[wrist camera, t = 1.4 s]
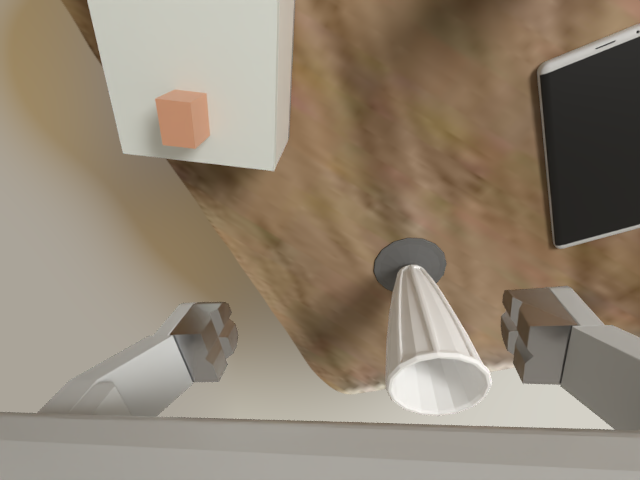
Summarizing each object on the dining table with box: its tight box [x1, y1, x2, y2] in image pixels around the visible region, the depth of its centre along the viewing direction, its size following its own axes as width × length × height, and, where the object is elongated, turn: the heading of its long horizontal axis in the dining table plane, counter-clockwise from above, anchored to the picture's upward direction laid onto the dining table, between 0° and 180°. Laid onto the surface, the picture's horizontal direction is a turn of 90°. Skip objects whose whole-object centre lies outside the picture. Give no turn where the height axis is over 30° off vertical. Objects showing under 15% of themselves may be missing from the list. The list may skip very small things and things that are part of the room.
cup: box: [374, 238, 492, 416], centre depth 47 cm, size 12×12×22 cm
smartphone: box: [537, 23, 640, 249], centre depth 44 cm, size 13×27×2 cm, turn 24°
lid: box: [87, 0, 279, 171], centre depth 29 cm, size 22×16×5 cm
